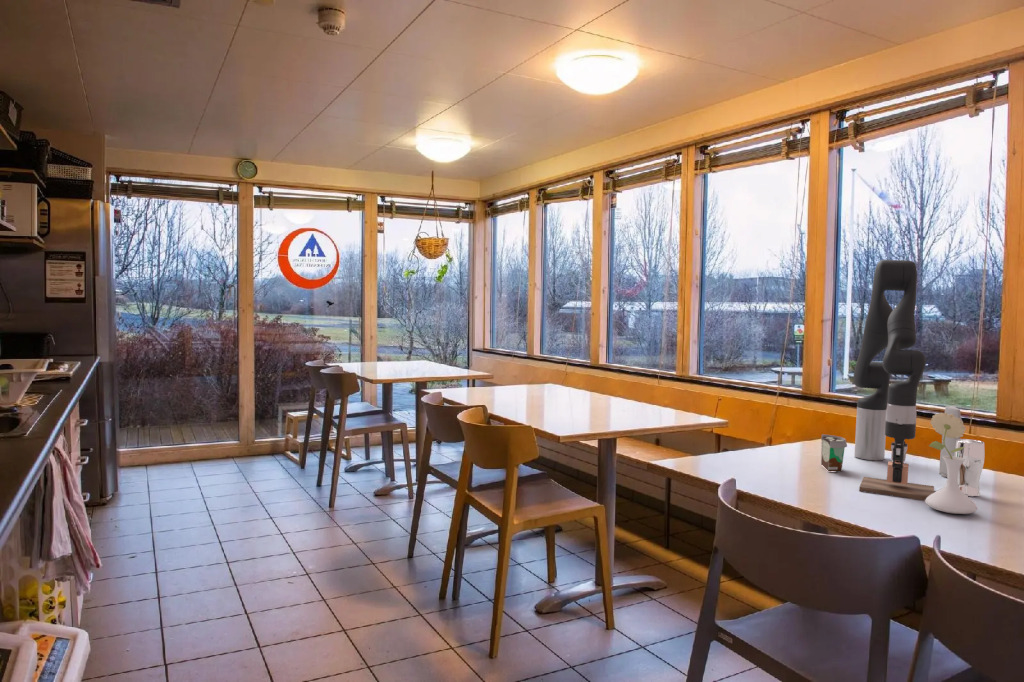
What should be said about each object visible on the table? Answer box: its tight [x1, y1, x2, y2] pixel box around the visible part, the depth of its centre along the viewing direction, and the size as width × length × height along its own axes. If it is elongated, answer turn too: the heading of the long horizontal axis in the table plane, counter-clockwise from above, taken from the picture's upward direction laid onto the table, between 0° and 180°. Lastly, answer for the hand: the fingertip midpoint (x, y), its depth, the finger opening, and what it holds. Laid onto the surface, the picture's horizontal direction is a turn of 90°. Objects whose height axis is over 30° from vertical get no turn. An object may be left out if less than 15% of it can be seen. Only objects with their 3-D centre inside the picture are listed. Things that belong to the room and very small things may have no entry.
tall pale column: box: [938, 405, 963, 478], centre depth 215 cm, size 11×4×22 cm, turn 174°
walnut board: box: [858, 476, 935, 501], centre depth 198 cm, size 14×18×1 cm
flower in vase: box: [924, 412, 978, 515], centre depth 179 cm, size 13×11×25 cm
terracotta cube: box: [886, 460, 909, 485], centre depth 197 cm, size 5×5×5 cm
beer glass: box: [955, 438, 986, 497], centre depth 195 cm, size 7×7×15 cm
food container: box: [820, 433, 848, 472], centre depth 222 cm, size 12×6×10 cm, turn 168°
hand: (897, 479), depth 198 cm, fingers closed on terracotta cube, 5 cm apart
